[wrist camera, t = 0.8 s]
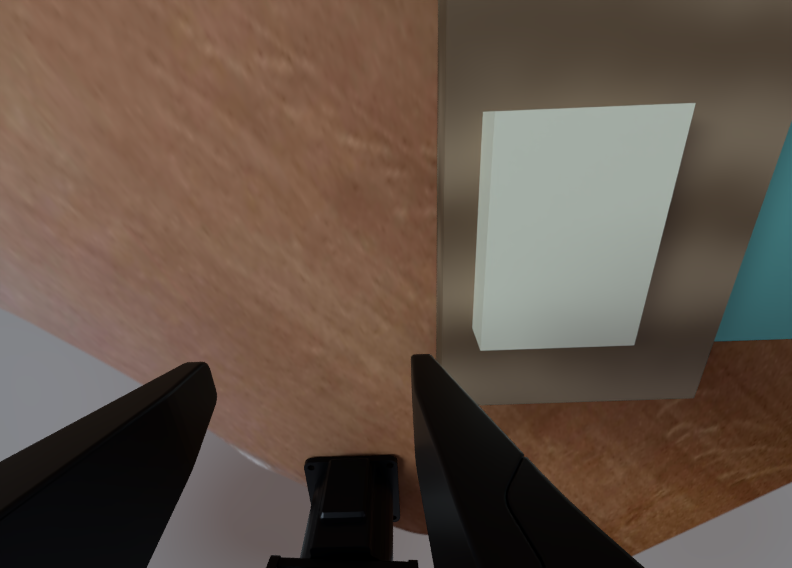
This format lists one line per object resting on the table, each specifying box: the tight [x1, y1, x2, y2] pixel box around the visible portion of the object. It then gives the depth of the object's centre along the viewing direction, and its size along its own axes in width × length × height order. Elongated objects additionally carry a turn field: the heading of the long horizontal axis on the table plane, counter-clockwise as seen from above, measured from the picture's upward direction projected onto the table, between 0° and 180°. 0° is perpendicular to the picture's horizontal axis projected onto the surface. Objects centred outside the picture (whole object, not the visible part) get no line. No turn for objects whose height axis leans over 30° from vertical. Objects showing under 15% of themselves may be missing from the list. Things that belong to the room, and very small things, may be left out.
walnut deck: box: [436, 0, 792, 405], centre depth 19 cm, size 20×14×3 cm
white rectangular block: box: [472, 103, 696, 351], centre depth 16 cm, size 10×7×2 cm
